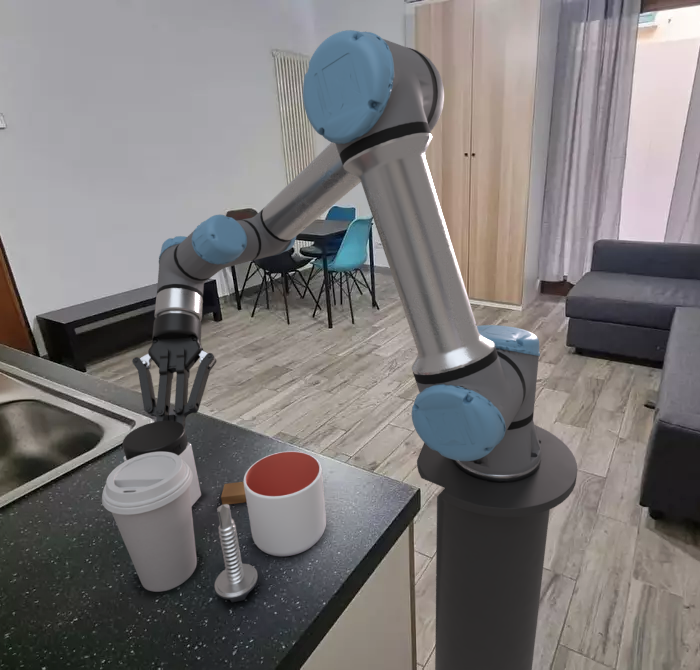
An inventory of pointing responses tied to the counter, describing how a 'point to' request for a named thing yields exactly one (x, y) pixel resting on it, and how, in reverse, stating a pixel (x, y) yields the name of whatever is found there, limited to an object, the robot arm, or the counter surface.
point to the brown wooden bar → (233, 493)
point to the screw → (232, 562)
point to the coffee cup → (154, 517)
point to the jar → (163, 446)
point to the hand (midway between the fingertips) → (168, 458)
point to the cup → (285, 502)
